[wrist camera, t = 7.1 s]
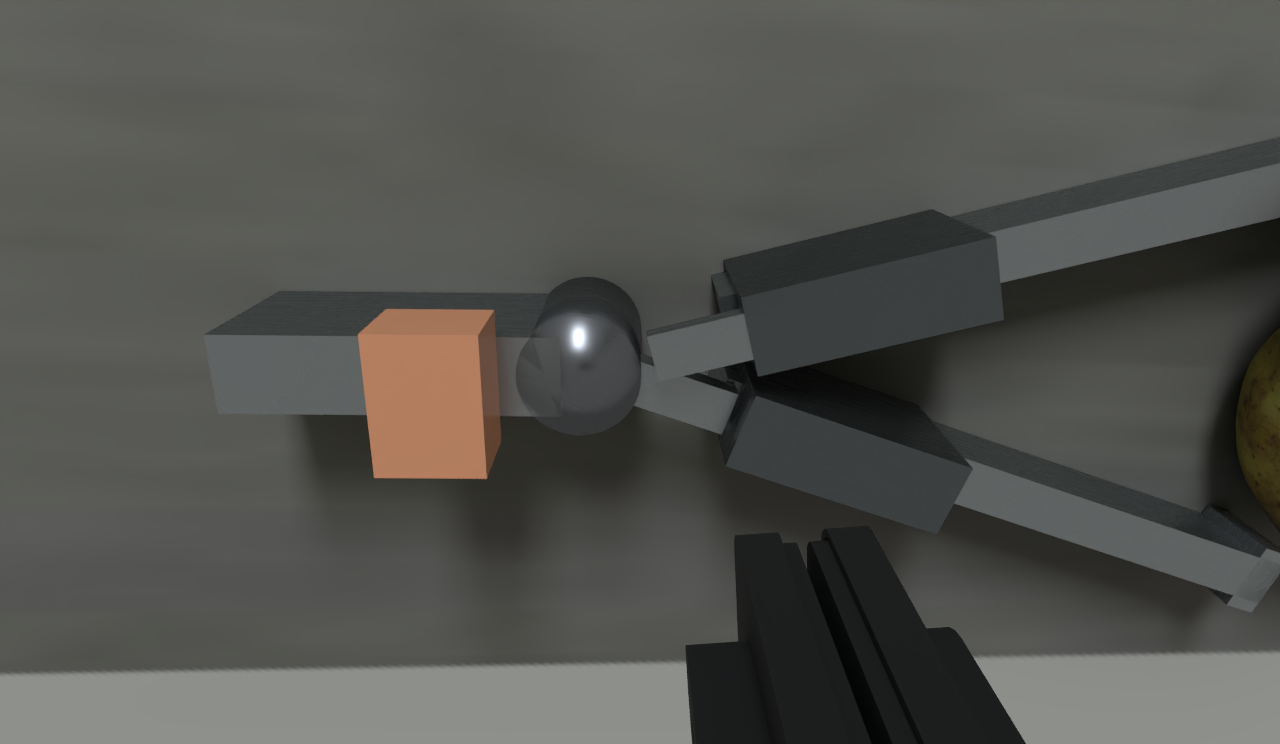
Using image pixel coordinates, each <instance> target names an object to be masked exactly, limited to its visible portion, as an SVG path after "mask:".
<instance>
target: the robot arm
mask: <svg viewBox="0 0 1280 744" xmlns="http://www.w3.org/2000/svg"><path fill="white" fill-rule="evenodd" d="M734 546H735V573H736V598H737V622H738V642H726V643H711V644H697V645H686V664H687V679H688V694H689V708H690V721H691V734H692V744H1026V743H1025V742H1024V740H1023V738H1022V737H1021V735H1020V733H1019V732H1018V730H1017V728H1016V727H1015V725H1014V724H1013V722H1012V721H1011V719H1010V717H1009V716H1008V714H1007V712H1006V711H1005V709H1004V707H1003V706H1002V704H1001V702H1000V701H999V699H998V698H997V696H996V694H995V693H994V691H993V689H992V688H991V686H990V684H989V683H988V681H987V679H986V678H985V676H984V675H983V673H982V671H981V670H980V668H979V666H978V665H977V663H976V661H975V660H974V658H973V656H972V655H971V653H970V652H969V650H968V648H967V647H966V645H965V643H964V642H963V640H962V638H961V637H960V636H959V635H958V633H957V632H956V631H955V630H954V629H952V628H950V627H943V628H928V629H926V627H925V625H924V624H923V622H922V620H921V618H920V616H919V615H918V613H917V611H916V609H915V607H914V606H913V604H912V602H911V600H910V598H909V597H908V595H907V593H906V591H905V589H904V588H903V586H902V584H901V582H900V581H899V579H898V577H897V575H896V573H895V572H894V570H893V568H892V566H891V564H890V563H889V561H888V559H887V557H886V555H885V554H884V552H883V550H882V548H881V546H880V545H879V543H878V541H877V539H876V537H875V536H874V534H873V532H872V530H871V529H870V528H869V527H868V526H861V527H847V528H833V529H824V530H823V532H822V538H821V541H812V542H809V543H808V546H807V569H806V566H805V564H804V561H803V558H802V556H801V553H800V550H799V548H798V545H797V543H784V544H783V543H782V540H781V537H780V535H779V533H763V534H749V535H735V542H734Z"/></svg>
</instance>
